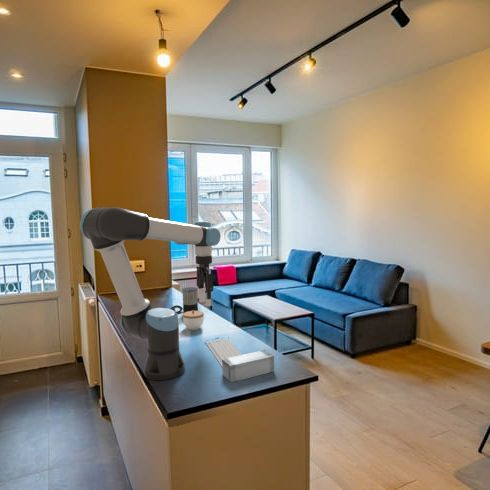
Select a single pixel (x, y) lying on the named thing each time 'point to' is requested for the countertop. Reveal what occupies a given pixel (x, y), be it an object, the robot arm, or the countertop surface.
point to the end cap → (247, 365)
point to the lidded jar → (193, 319)
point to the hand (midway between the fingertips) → (205, 303)
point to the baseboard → (223, 349)
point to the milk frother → (188, 300)
